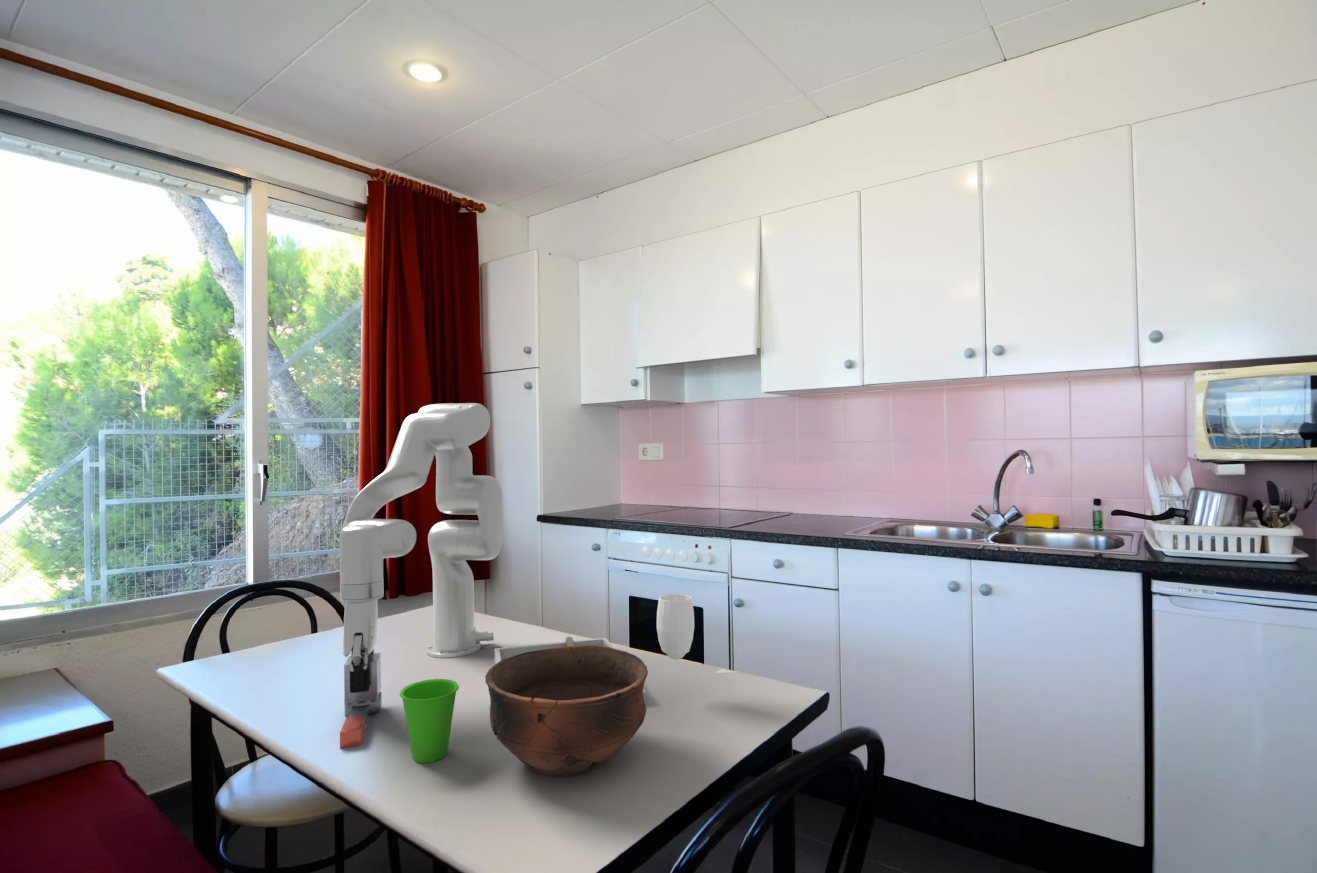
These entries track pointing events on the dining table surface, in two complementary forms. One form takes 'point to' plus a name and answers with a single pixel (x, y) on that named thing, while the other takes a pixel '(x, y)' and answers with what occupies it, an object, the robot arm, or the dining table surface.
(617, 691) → the bowl
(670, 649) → the cup
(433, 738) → the cup
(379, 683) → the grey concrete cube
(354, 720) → the ratchet
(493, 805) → the dining table surface
